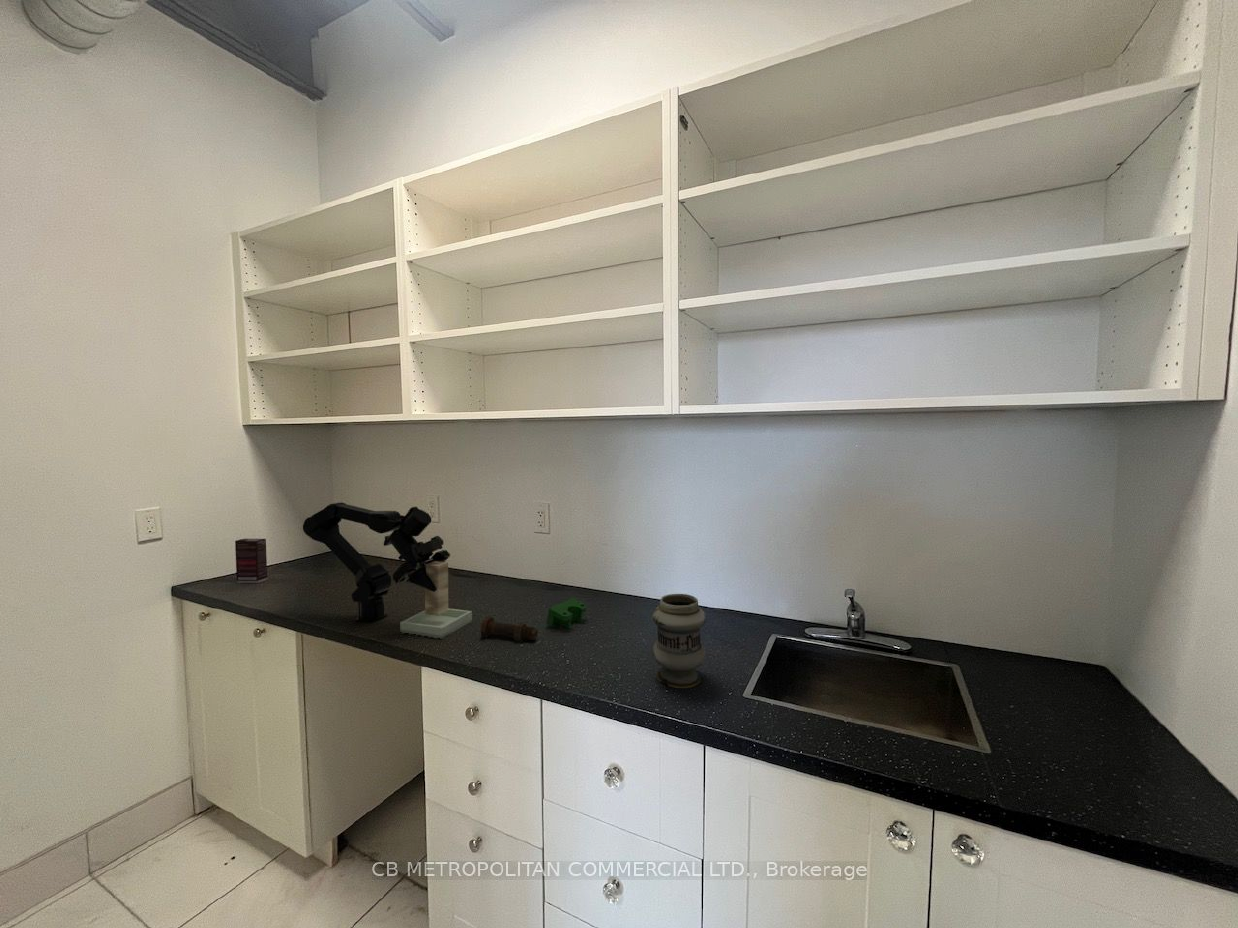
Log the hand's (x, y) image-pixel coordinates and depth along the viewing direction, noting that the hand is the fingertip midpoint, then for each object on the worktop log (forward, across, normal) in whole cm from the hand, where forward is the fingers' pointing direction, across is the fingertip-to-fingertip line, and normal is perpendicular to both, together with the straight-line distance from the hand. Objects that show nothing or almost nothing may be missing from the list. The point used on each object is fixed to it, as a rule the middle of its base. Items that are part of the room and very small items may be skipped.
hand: (440, 588), depth 138 cm
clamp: (+32, +13, -16) cm, 38 cm away
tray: (+7, 0, +9) cm, 11 cm away
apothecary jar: (+57, -10, -42) cm, 71 cm away
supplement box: (-59, +18, +76) cm, 98 cm away
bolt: (+24, -1, -8) cm, 25 cm away
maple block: (+4, 0, +6) cm, 7 cm away
